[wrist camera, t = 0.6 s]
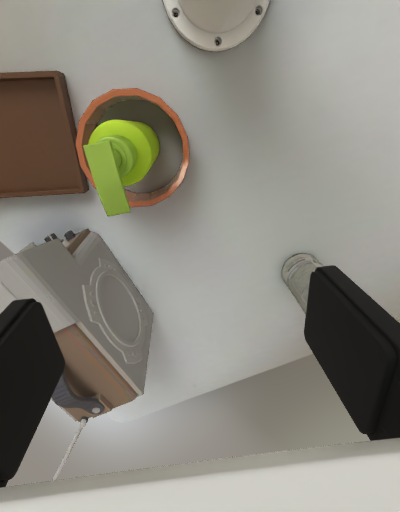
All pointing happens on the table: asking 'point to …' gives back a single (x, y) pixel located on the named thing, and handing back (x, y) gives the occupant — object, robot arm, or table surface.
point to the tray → (37, 136)
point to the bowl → (89, 125)
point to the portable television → (85, 321)
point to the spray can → (299, 276)
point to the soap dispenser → (120, 160)
